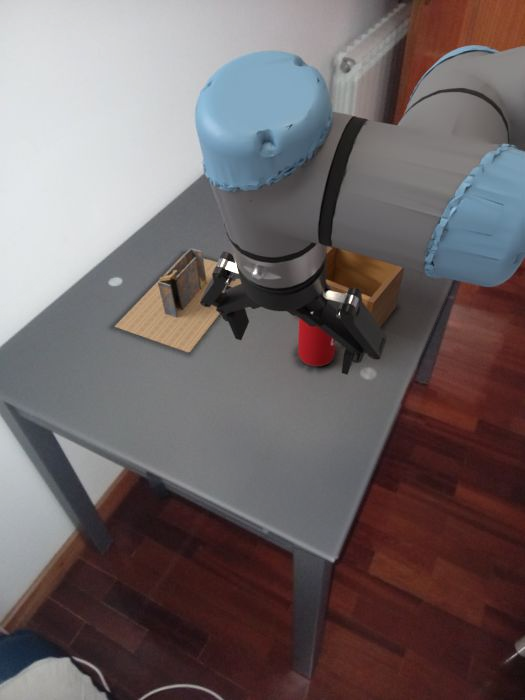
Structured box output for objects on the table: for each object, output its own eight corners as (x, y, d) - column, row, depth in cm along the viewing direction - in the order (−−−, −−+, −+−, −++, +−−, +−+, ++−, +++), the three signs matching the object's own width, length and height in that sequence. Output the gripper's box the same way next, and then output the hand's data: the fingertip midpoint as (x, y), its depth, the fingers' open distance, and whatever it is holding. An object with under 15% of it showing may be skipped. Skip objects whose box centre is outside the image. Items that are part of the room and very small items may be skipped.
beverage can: (339, 350, 86) (346, 298, 77) (324, 374, 82) (329, 322, 73) (307, 338, 88) (310, 285, 79) (291, 360, 84) (292, 308, 76)
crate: (395, 307, 93) (405, 264, 85) (366, 345, 86) (373, 302, 79) (331, 281, 99) (335, 239, 91) (298, 315, 92) (300, 272, 85)
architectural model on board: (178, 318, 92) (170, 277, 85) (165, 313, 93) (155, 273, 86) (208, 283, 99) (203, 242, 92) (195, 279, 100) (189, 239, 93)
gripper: (126, 250, 41) (189, 343, 61) (421, 337, 36) (386, 408, 55) (164, 180, 44) (213, 291, 63) (447, 252, 38) (404, 350, 58)
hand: (293, 346), depth 59 cm, fingers open, 13 cm apart
